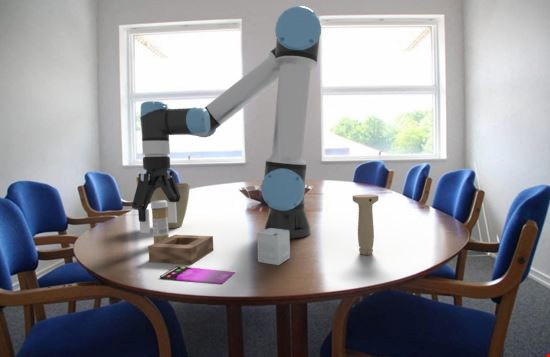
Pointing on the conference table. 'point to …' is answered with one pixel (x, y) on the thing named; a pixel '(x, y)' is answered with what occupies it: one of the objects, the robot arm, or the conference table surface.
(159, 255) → the bore block
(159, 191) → the plant pot
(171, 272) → the smartphone
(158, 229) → the sprinkles bottle
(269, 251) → the skincare box
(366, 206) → the handle
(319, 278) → the conference table surface
